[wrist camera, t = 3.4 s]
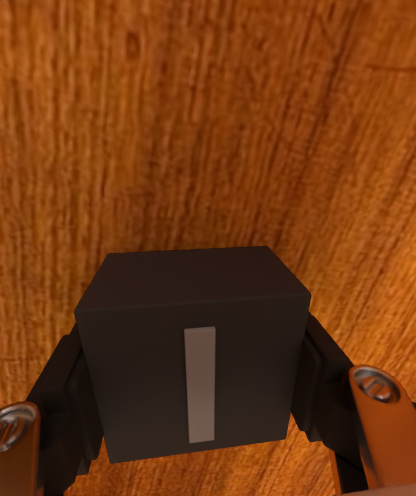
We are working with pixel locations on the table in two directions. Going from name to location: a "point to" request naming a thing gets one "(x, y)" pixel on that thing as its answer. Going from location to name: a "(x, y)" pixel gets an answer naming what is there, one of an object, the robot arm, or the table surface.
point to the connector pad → (192, 349)
